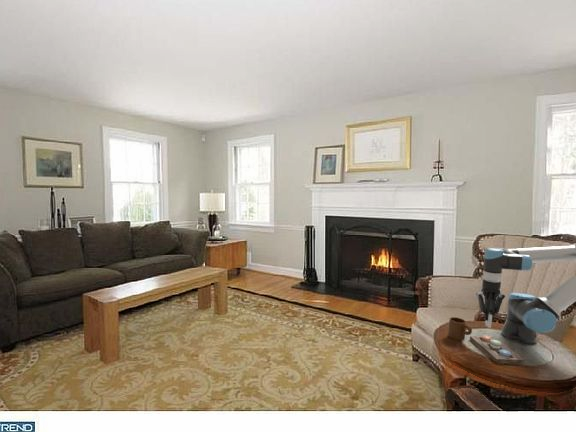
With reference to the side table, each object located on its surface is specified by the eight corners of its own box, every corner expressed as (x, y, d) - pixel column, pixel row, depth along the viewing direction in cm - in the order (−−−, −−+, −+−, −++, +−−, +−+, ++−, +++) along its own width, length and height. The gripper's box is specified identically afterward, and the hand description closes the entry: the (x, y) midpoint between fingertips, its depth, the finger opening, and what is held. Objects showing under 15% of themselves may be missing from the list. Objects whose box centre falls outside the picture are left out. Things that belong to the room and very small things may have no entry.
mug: (475, 343, 162) (477, 325, 161) (464, 346, 159) (466, 327, 158) (455, 333, 173) (456, 316, 172) (444, 335, 170) (446, 318, 169)
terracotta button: (488, 341, 164) (488, 335, 163) (493, 345, 159) (494, 339, 159) (479, 340, 164) (479, 335, 163) (484, 345, 159) (484, 339, 159)
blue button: (506, 355, 150) (506, 349, 149) (512, 360, 145) (513, 354, 145) (496, 355, 150) (497, 349, 149) (502, 360, 145) (503, 354, 145)
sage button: (497, 345, 157) (497, 339, 156) (502, 350, 152) (503, 344, 152) (487, 345, 157) (488, 339, 156) (493, 349, 152) (493, 343, 152)
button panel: (493, 340, 165) (493, 336, 165) (523, 364, 143) (524, 359, 143) (469, 339, 166) (470, 336, 165) (496, 363, 144) (496, 358, 144)
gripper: (500, 278, 162) (496, 323, 164) (474, 277, 162) (470, 322, 164) (510, 282, 154) (506, 330, 157) (482, 282, 155) (479, 329, 157)
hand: (488, 326), depth 161 cm, fingers closed
